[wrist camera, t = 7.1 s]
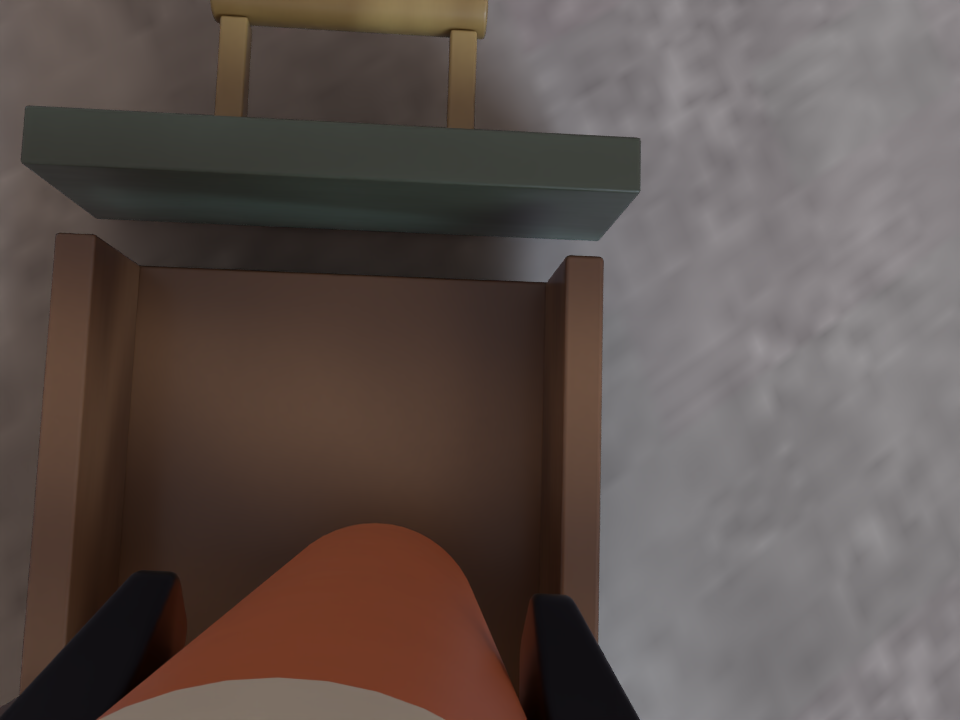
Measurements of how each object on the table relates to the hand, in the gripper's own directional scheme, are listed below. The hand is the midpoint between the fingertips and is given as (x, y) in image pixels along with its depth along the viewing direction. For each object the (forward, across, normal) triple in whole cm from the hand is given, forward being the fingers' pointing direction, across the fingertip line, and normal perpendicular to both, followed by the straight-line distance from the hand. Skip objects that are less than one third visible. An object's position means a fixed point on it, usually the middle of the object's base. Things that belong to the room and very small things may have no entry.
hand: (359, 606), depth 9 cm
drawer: (+11, +1, +7) cm, 13 cm away
